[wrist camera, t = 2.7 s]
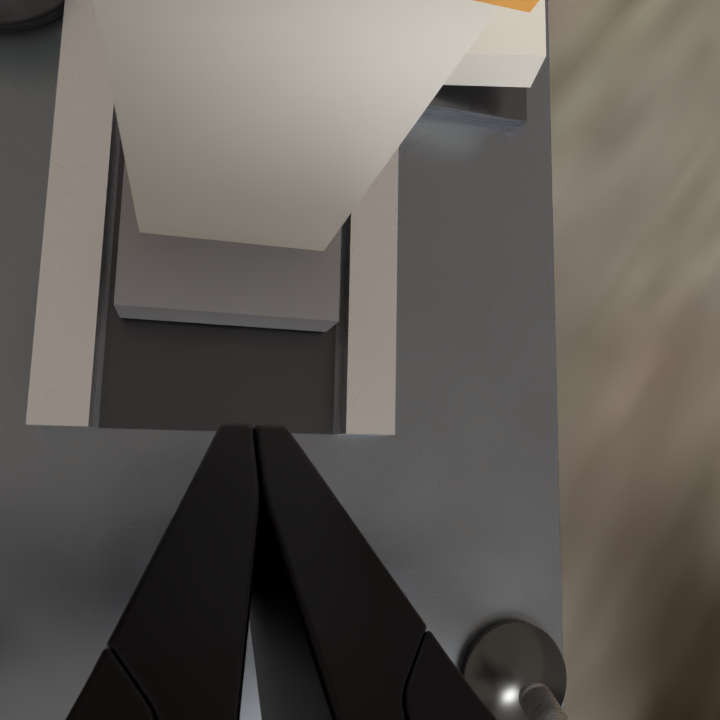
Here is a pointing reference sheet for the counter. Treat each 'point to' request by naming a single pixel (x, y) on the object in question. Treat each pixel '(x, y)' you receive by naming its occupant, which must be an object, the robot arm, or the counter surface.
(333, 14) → the slide paddle
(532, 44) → the rocker switch
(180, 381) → the console
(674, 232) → the counter surface
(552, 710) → the toggle lever
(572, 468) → the counter surface
